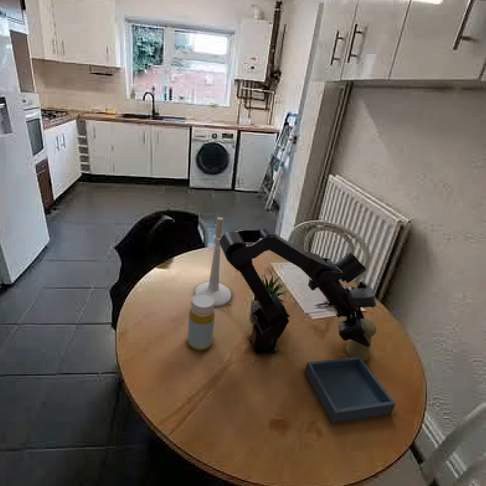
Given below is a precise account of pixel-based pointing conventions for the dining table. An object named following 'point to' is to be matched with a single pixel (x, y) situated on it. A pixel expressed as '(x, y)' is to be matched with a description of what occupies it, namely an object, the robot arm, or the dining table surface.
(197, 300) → the bottle
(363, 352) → the wooden peg doll
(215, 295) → the candlestick
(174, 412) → the dining table surface
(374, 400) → the tray
